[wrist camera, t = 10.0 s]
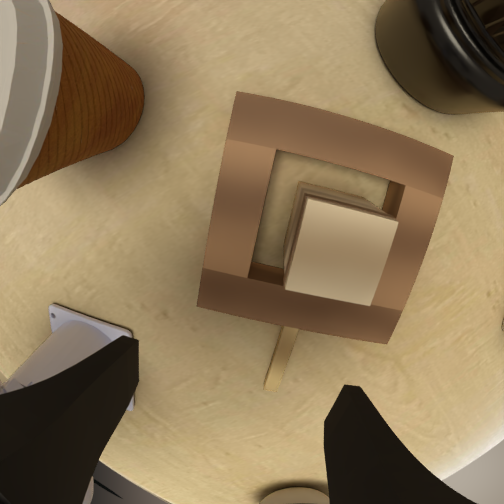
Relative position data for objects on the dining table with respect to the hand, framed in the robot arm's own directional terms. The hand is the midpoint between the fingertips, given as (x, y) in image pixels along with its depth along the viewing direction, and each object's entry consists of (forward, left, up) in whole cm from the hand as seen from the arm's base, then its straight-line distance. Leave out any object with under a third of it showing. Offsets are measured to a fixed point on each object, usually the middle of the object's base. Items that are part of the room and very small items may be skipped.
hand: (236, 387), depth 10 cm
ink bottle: (+17, -8, -11) cm, 22 cm away
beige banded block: (+4, -3, -10) cm, 12 cm away
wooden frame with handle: (0, -3, -10) cm, 11 cm away
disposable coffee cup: (+9, +12, -11) cm, 18 cm away
